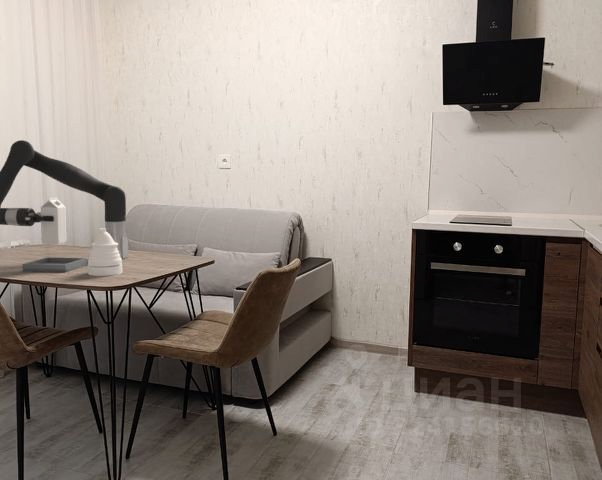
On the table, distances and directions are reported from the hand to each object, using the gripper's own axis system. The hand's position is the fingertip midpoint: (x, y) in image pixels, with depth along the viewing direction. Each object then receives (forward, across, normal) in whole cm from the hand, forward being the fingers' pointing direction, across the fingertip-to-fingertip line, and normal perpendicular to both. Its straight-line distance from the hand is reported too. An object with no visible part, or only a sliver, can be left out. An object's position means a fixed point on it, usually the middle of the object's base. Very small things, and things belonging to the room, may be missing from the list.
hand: (58, 218), depth 228 cm
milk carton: (-2, 0, +11) cm, 11 cm away
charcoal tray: (-2, 0, +21) cm, 21 cm away
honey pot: (+23, -8, +21) cm, 32 cm away
